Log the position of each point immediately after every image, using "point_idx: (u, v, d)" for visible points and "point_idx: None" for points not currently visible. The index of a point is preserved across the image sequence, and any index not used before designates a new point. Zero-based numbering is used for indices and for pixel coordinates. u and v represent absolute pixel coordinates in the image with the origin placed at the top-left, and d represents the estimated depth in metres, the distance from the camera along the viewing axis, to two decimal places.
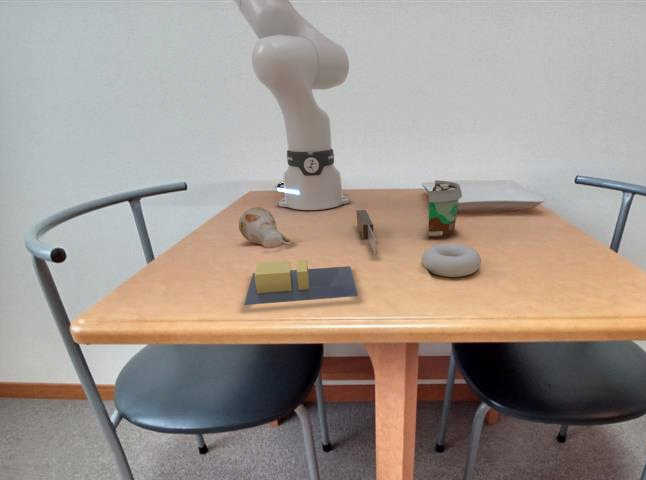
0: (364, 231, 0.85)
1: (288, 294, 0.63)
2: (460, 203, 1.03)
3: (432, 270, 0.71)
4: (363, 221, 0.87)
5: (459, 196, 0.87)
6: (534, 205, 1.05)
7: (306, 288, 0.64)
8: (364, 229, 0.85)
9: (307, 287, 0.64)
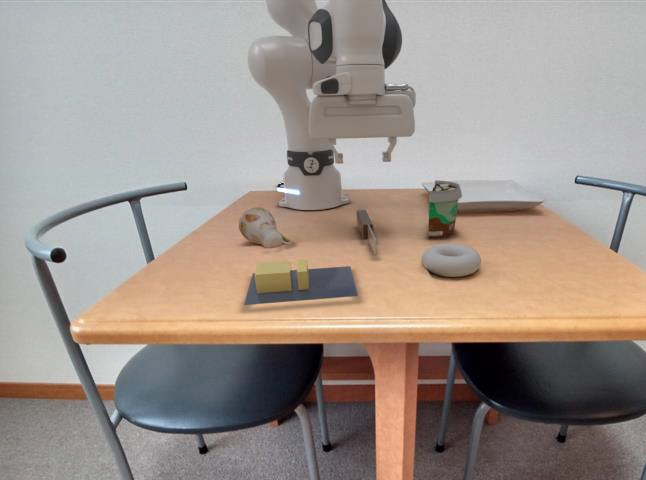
0: (364, 231, 0.85)
1: (288, 294, 0.63)
2: (460, 203, 1.03)
3: (432, 270, 0.71)
4: (363, 221, 0.87)
5: (459, 196, 0.87)
6: (534, 205, 1.05)
7: (306, 288, 0.64)
8: (364, 229, 0.85)
9: (307, 287, 0.64)
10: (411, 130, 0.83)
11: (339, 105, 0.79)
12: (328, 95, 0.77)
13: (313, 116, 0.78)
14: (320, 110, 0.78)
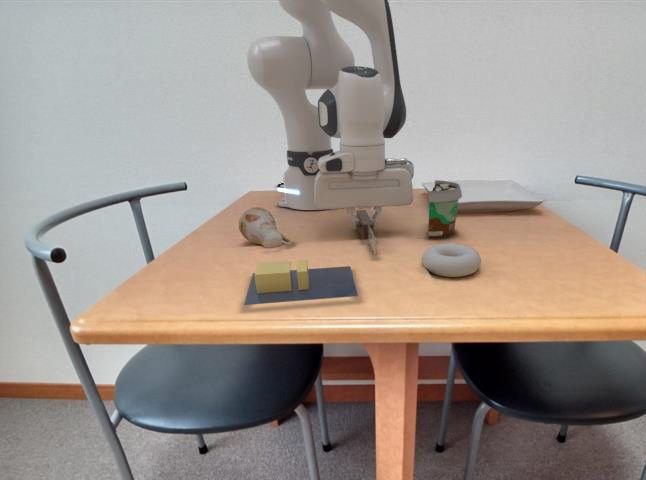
0: (364, 231, 0.85)
1: (288, 294, 0.63)
2: (460, 203, 1.03)
3: (432, 270, 0.71)
4: (363, 221, 0.87)
5: (459, 196, 0.87)
6: (534, 205, 1.05)
7: (306, 288, 0.64)
8: (364, 229, 0.85)
9: (307, 287, 0.64)
10: (409, 199, 0.88)
11: (342, 180, 0.84)
12: (332, 172, 0.82)
13: (318, 190, 0.84)
14: (325, 184, 0.84)
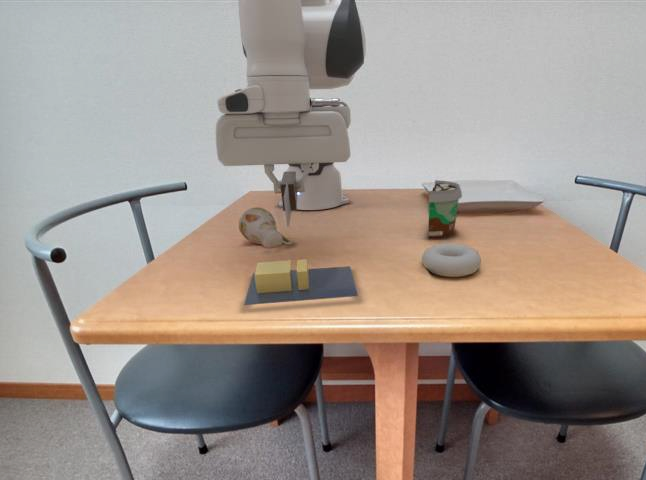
0: (282, 193, 0.65)
1: (288, 294, 0.63)
2: (460, 203, 1.03)
3: (432, 270, 0.71)
4: (283, 181, 0.66)
5: (459, 196, 0.87)
6: (534, 205, 1.05)
7: (306, 288, 0.64)
8: (282, 191, 0.64)
9: (307, 287, 0.64)
10: (345, 154, 0.68)
11: (252, 125, 0.64)
12: (236, 113, 0.62)
13: (220, 138, 0.63)
14: (229, 131, 0.64)
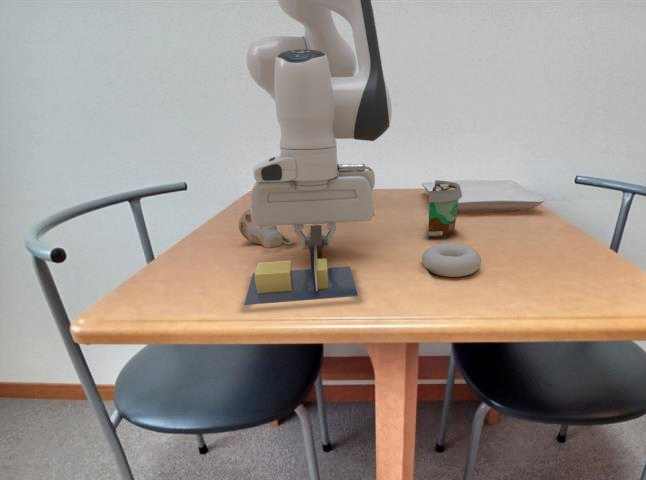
0: (311, 253, 0.69)
1: (288, 294, 0.63)
2: (460, 203, 1.03)
3: (432, 270, 0.71)
4: (311, 241, 0.71)
5: (459, 196, 0.87)
6: (534, 205, 1.05)
7: (326, 287, 0.65)
8: (311, 251, 0.69)
9: (327, 286, 0.65)
10: (369, 214, 0.72)
11: (284, 190, 0.69)
12: (270, 181, 0.67)
13: (254, 203, 0.68)
14: (263, 196, 0.68)
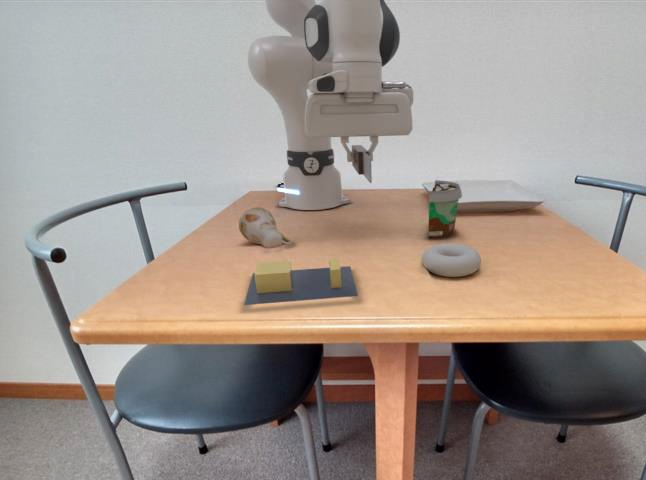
0: (359, 159, 0.78)
1: (288, 294, 0.63)
2: (460, 203, 1.03)
3: (432, 270, 0.71)
4: (358, 150, 0.80)
5: (459, 196, 0.87)
6: (534, 205, 1.05)
7: (339, 286, 0.65)
8: (359, 157, 0.78)
9: (340, 285, 0.65)
10: (408, 128, 0.81)
11: (335, 103, 0.77)
12: (324, 93, 0.75)
13: (309, 114, 0.77)
14: (316, 108, 0.77)
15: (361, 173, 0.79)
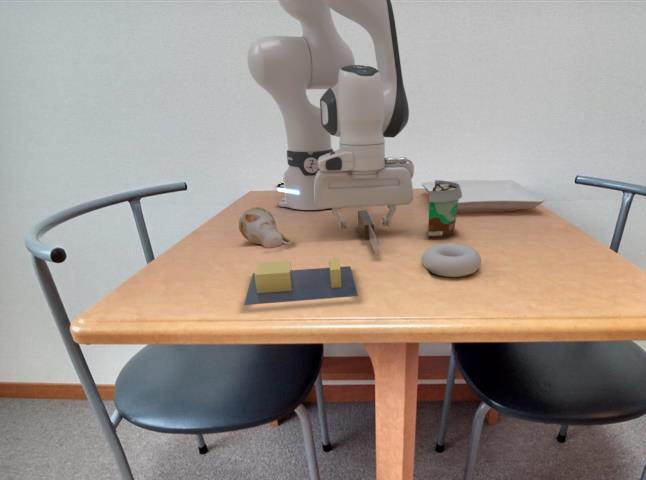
0: (365, 231, 0.85)
1: (288, 294, 0.63)
2: (460, 203, 1.03)
3: (432, 270, 0.71)
4: (364, 221, 0.87)
5: (459, 196, 0.87)
6: (534, 205, 1.05)
7: (339, 286, 0.65)
8: (365, 229, 0.85)
9: (340, 285, 0.65)
10: (409, 199, 0.88)
11: (342, 179, 0.84)
12: (332, 171, 0.82)
13: (318, 189, 0.84)
14: (325, 183, 0.84)
15: None
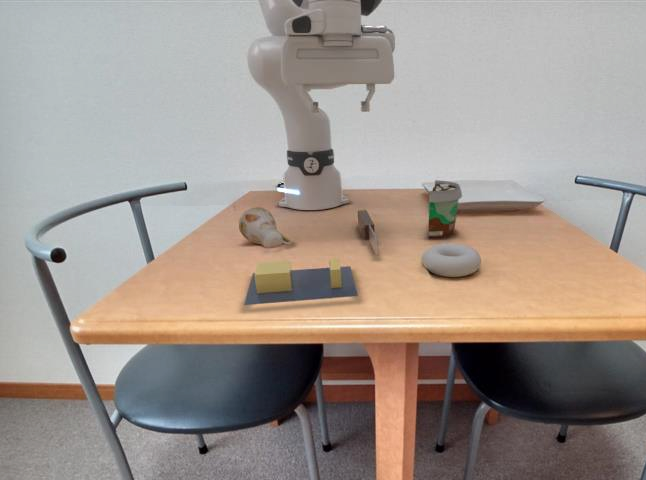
0: (365, 231, 0.85)
1: (288, 294, 0.63)
2: (460, 203, 1.03)
3: (432, 270, 0.71)
4: (364, 221, 0.87)
5: (459, 196, 0.87)
6: (534, 205, 1.05)
7: (339, 286, 0.65)
8: (365, 229, 0.85)
9: (340, 285, 0.65)
10: (390, 76, 0.78)
11: (312, 47, 0.74)
12: (300, 34, 0.72)
13: (285, 58, 0.74)
14: (293, 52, 0.74)
15: None
